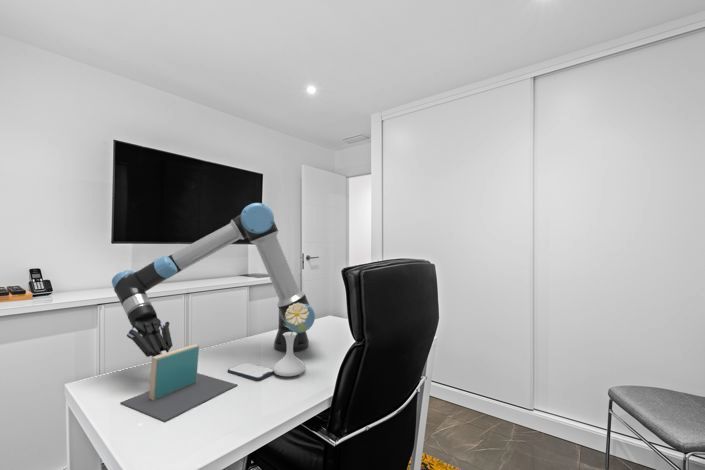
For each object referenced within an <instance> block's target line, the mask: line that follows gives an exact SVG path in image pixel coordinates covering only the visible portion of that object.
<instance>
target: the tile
mask: <svg viewBox="0 0 705 470" xmlns="http://www.w3.org/2000/svg"><path fill="white" fill-rule="evenodd" d="M199 350H200V345H199V344H196V343H194V344H191V345H188V346H184V347H181V348H177V349H175V350H171V351H170V350H169V352H167V353H164V354H161V355H157V356H154V357H152V356H151V366H150V368H151V369H150V379H149V380H150V381H149V391H150V392H149V399H151V400H156V399H158V398H160V397H163V396H165V395H167V394H170V393H172V392H174V391H177V390H179V389H181V388H184V387H186V386H189V385H191V384H193V383H196V381H197V373H198V366H199V365H198V363H199V354H200V353H199Z"/></svg>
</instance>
